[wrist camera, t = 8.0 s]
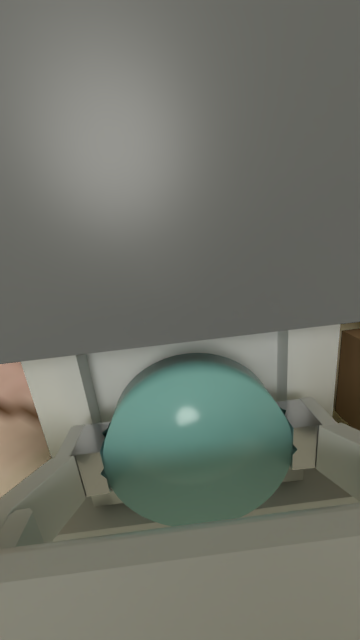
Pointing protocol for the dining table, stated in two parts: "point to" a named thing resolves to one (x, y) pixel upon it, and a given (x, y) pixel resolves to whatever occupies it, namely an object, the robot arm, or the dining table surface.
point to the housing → (176, 171)
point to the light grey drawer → (123, 365)
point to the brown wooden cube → (349, 379)
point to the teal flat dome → (196, 441)
